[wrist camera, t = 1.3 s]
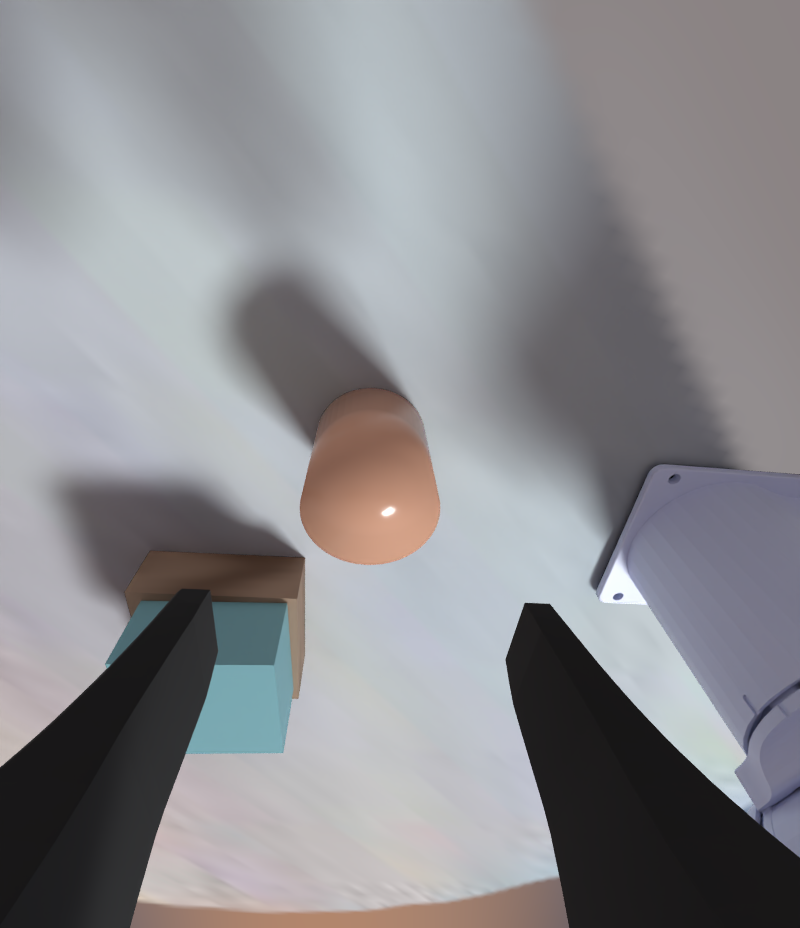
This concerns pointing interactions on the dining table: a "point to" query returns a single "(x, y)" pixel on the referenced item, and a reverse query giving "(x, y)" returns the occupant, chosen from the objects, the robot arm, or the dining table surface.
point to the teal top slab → (238, 677)
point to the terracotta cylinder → (370, 480)
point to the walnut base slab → (229, 586)
